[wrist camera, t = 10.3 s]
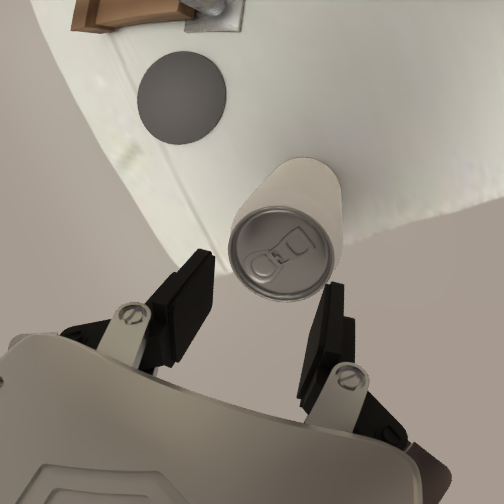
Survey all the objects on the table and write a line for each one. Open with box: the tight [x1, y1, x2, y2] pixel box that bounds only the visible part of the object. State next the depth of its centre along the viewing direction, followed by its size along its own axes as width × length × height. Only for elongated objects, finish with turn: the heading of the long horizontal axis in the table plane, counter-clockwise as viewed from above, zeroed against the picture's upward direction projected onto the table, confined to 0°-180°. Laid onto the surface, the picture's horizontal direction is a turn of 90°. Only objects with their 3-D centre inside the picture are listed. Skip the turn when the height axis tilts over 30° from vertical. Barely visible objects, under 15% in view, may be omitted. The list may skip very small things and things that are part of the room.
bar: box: [71, 0, 195, 34], centre depth 18 cm, size 4×11×4 cm, turn 81°
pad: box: [137, 51, 226, 145], centre depth 24 cm, size 9×9×1 cm
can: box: [228, 157, 343, 302], centre depth 21 cm, size 6×6×12 cm
